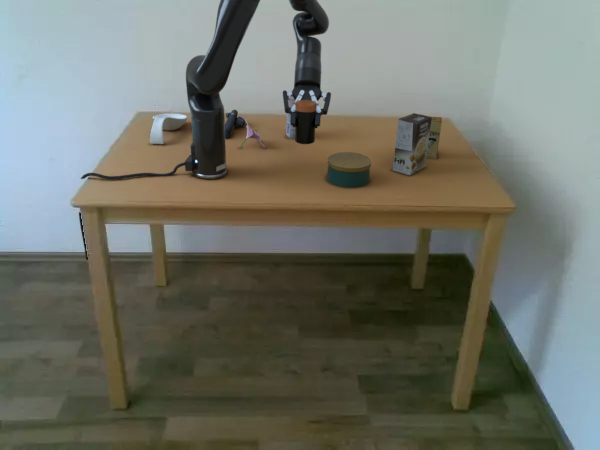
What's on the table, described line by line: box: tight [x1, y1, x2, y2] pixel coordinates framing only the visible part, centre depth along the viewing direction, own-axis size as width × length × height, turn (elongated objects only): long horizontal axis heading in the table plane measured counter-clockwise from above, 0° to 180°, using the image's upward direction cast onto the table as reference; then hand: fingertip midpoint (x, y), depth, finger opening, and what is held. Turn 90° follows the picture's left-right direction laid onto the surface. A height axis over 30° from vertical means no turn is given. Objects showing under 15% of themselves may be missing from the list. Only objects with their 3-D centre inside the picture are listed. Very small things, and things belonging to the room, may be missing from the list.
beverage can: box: [285, 96, 295, 140], centre depth 197 cm, size 5×5×15 cm
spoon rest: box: [149, 113, 188, 145], centre depth 199 cm, size 24×12×7 cm, turn 178°
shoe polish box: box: [426, 116, 443, 160], centre depth 186 cm, size 5×5×12 cm
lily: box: [239, 117, 266, 149], centre depth 190 cm, size 12×12×10 cm
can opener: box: [224, 109, 246, 139], centre depth 203 cm, size 18×7×6 cm, turn 172°
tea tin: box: [294, 100, 317, 145], centre depth 164 cm, size 6×6×11 cm
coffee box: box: [392, 112, 433, 176], centre depth 175 cm, size 9×6×16 cm
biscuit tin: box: [326, 151, 372, 189], centre depth 169 cm, size 12×12×6 cm
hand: (305, 126), depth 163 cm, fingers closed on tea tin, 5 cm apart
